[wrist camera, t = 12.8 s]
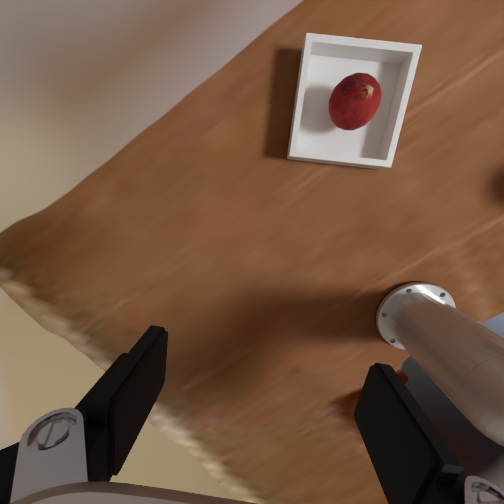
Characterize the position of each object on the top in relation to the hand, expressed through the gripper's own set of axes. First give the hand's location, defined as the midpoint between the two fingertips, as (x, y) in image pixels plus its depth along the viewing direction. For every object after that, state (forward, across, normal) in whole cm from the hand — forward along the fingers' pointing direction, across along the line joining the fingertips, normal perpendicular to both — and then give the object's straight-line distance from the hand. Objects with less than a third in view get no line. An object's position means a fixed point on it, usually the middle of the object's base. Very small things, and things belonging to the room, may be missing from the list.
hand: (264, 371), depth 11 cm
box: (+28, -8, -20) cm, 35 cm away
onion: (+28, -8, -20) cm, 35 cm away
